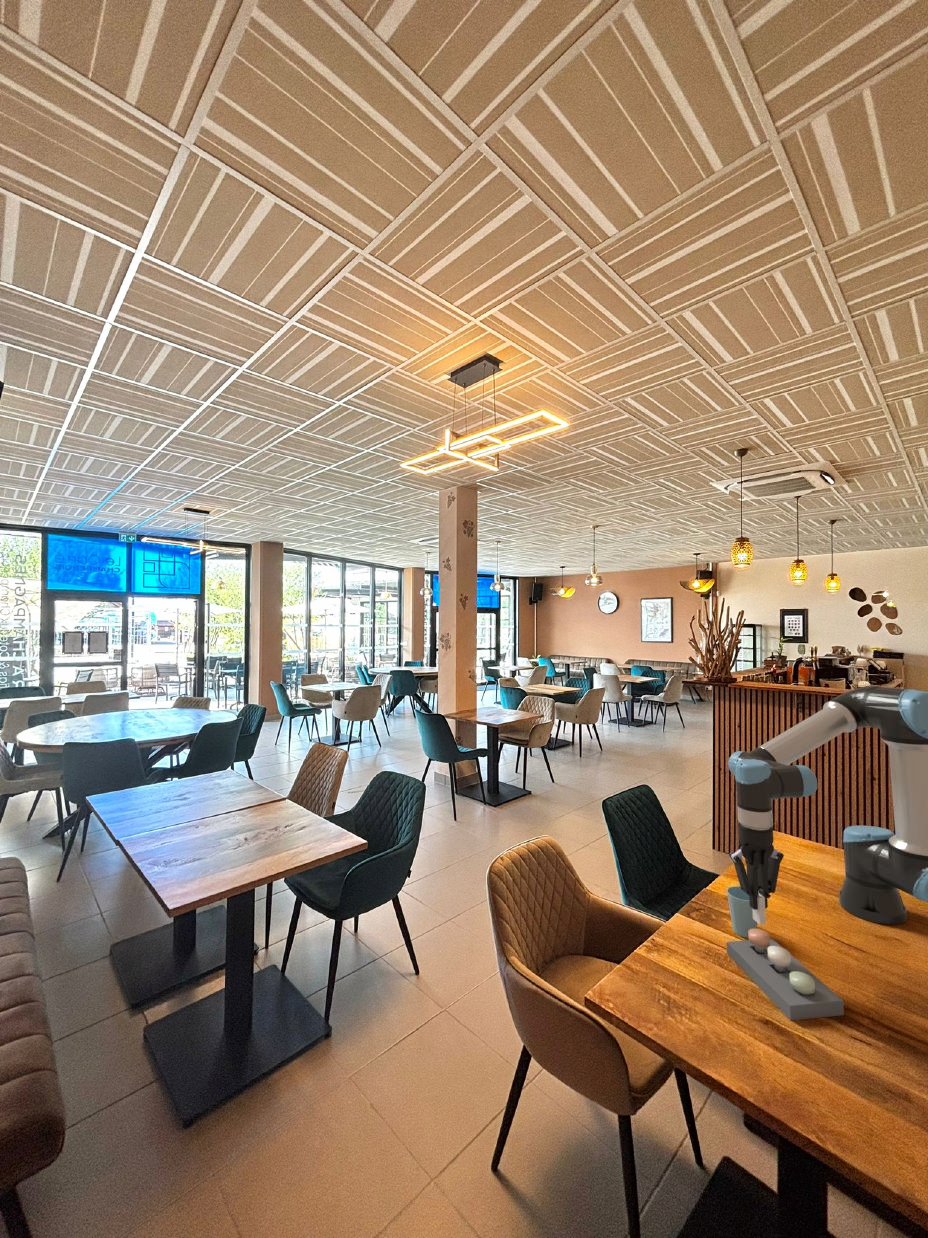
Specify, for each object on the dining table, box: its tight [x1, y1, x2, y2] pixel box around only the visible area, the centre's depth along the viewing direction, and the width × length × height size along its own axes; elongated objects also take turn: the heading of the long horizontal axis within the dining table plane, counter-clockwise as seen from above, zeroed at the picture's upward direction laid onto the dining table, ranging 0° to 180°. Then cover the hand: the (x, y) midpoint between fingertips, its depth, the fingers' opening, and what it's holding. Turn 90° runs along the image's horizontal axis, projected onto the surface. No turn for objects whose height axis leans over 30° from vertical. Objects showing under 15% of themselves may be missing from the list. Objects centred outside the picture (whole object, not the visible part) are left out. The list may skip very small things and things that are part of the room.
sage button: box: [789, 971, 815, 996], centre depth 110 cm, size 5×5×4 cm
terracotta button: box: [748, 928, 771, 953], centre depth 124 cm, size 5×5×4 cm
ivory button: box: [768, 946, 792, 972], centre depth 117 cm, size 5×5×4 cm
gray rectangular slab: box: [726, 937, 845, 1021], centre depth 117 cm, size 12×22×3 cm, turn 5°
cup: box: [726, 885, 758, 939], centre depth 136 cm, size 8×8×10 cm
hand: (759, 921), depth 124 cm, fingers closed
